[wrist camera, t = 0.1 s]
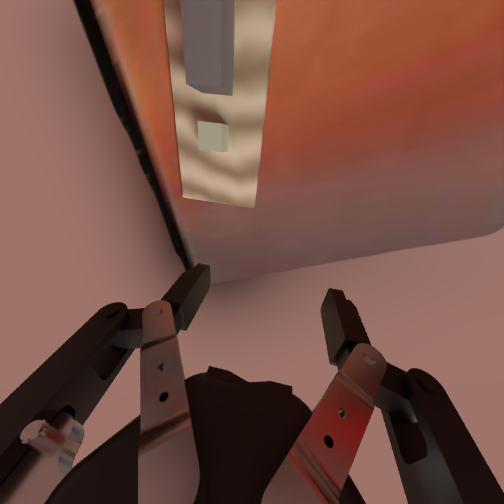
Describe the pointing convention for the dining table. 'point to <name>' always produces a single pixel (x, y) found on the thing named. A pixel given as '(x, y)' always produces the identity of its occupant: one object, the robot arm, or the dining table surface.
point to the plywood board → (224, 108)
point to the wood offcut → (213, 136)
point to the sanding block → (209, 45)
